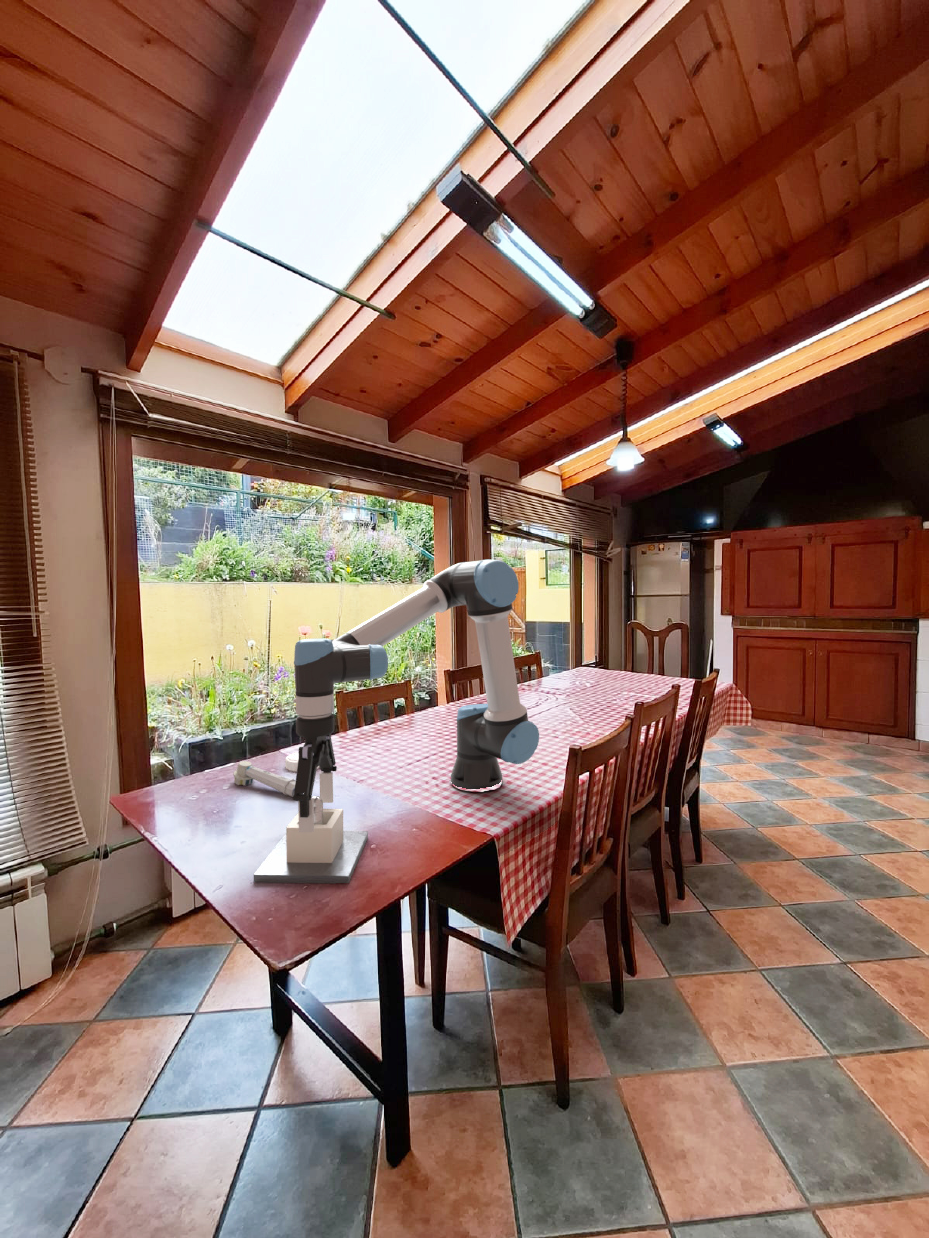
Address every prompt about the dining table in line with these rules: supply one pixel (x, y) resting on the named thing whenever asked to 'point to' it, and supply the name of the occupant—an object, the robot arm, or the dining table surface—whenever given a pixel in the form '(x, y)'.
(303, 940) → the dining table surface
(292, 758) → the mooncake
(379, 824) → the dining table surface
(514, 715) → the robot arm
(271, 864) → the post base
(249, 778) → the toothbrush head
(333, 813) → the collar
